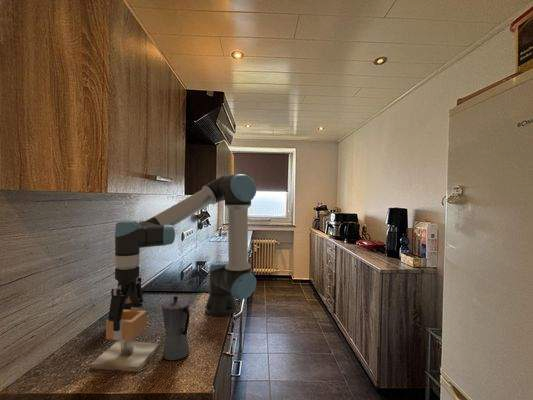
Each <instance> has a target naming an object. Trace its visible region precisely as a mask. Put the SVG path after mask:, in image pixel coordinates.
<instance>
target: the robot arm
mask: <svg viewBox="0 0 533 400" xmlns="http://www.w3.org/2000/svg"><path fill="white" fill-rule="evenodd" d="M256 194H257V185H256V182H255V181H254V180H253V179H252V177H251V176H249V175H248V174H241V173H236V174H235V173H234V174H226V175H225V174H224V175H221V176H219V177H217V178H216V179H214V180H212V181H210V182H209V183H207V184H205V185H203V186H202V188H201V189H200V190H198V191H197V192H195V193H194V194H192V195H190V196H189V197H186V198H184V199H182V200H180V201H179V202H177V203H175V204H174V205H172V206H170V207H168V208H166V209H164V210H162V211H161V212H159V213H158V214H155V215H154V216H152V217H151V218H149V219H146V220H141V221H139V220H120V221H117V223H115V228H114V229H115V230H114V255H115V256H114V266H115V268H114V280H116V281H117V282H118V283H117V286H116V288H111V290H110V293H111V294H110V295H111V296H110V304H109V305H110V306H109V312H108V319H107V320H108V321H113V331H114V339H113V341H121V340H123V319H121V318H122V314H123V310H124V306H125V302H126V299H127V298H128V296H129V297H130V300H131V303H132V306H134V307H131V310H140V308H142V307H143V305H144V304H143V303H144V296H143V290H142V277H140V266H139V265H140V254H141V253H140V249H141V248H142V249H144V248H150V247H161V246H164V247H165V246H169V245H172V244H173V243H174V241H175V239H176V232H175V228H174V226H176V225H178V224H180V223H182V222H183V221H186V219H188V218H189V217H191V216H193V215H194V214H196V213H197V212H200V211H201V210H203V209H206V207H208V206H209V205H212V206H214V205H215V204H217V203H219V202H224V207H226V209H227V211H228V212H227V216H228V217H227V219H228V221H227V224H228V228H227V229H228V234H227V235H228V240H227V243H228V246H227V248H228V249H227V250H228V254H227V255H228V258H227V259H228V260H227V261H225V260H224V261H217V262H213V263H211V264H210V265H209V271H208V272H209V277H208V278H209V281H208V282H209V283H208V284H209V289H208V290H209V292H208V293H209V294H208V298H207V301H206V304H205V313H206V314H207V315H209V316H213V317H226V316H230V315H233V314H235V313H236V312H237V311H238V304H237V303H238V302H237V300H236V299H238V300H245V299H248V298H249V297H250V296H251V295H252V294H253V292H254V291H256V288H257V278H256V276H255V275H254V274H253V273H252V265H251V264H250V263H249V261H248V260H249V256H248V255H249V254H248V253H249V249H248V248H249V247H248V246H249V244H248V241H249V233H248V231H249V229H248V227H249V226H248V225H249V224H248V223H249V222H248V221H249V218H248V217H249V214H248V212H249V211H248V210H249V208H250V207H251V205H252V200H253V199H254V197H255V196H256ZM121 295H125V296H121Z"/></svg>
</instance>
